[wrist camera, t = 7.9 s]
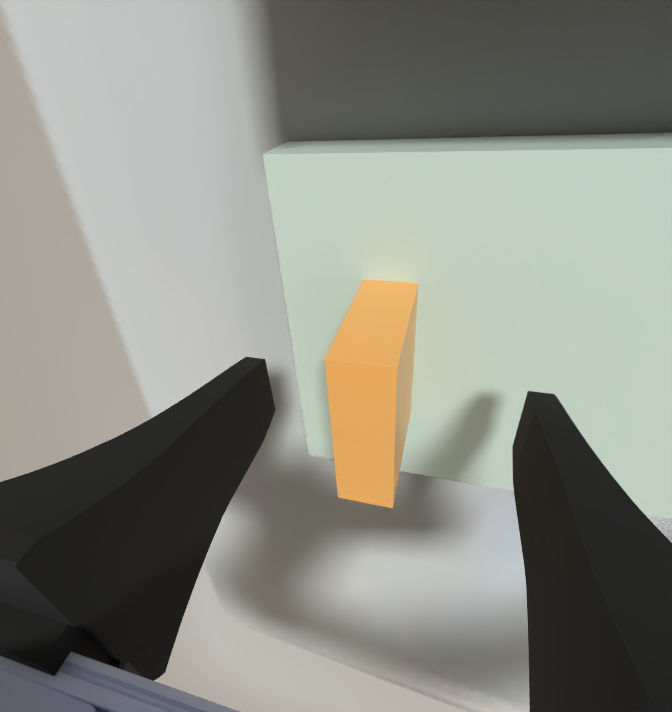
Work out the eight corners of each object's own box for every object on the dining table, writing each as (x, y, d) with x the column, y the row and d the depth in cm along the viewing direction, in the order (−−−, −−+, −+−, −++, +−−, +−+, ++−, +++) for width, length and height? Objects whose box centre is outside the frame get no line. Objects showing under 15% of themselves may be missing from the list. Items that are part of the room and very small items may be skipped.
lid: (1026, 123, 8) (1670, 219, 4) (731, 489, 15) (836, 674, 11) (287, 141, 12) (177, 198, 8) (321, 425, 19) (273, 541, 15)
